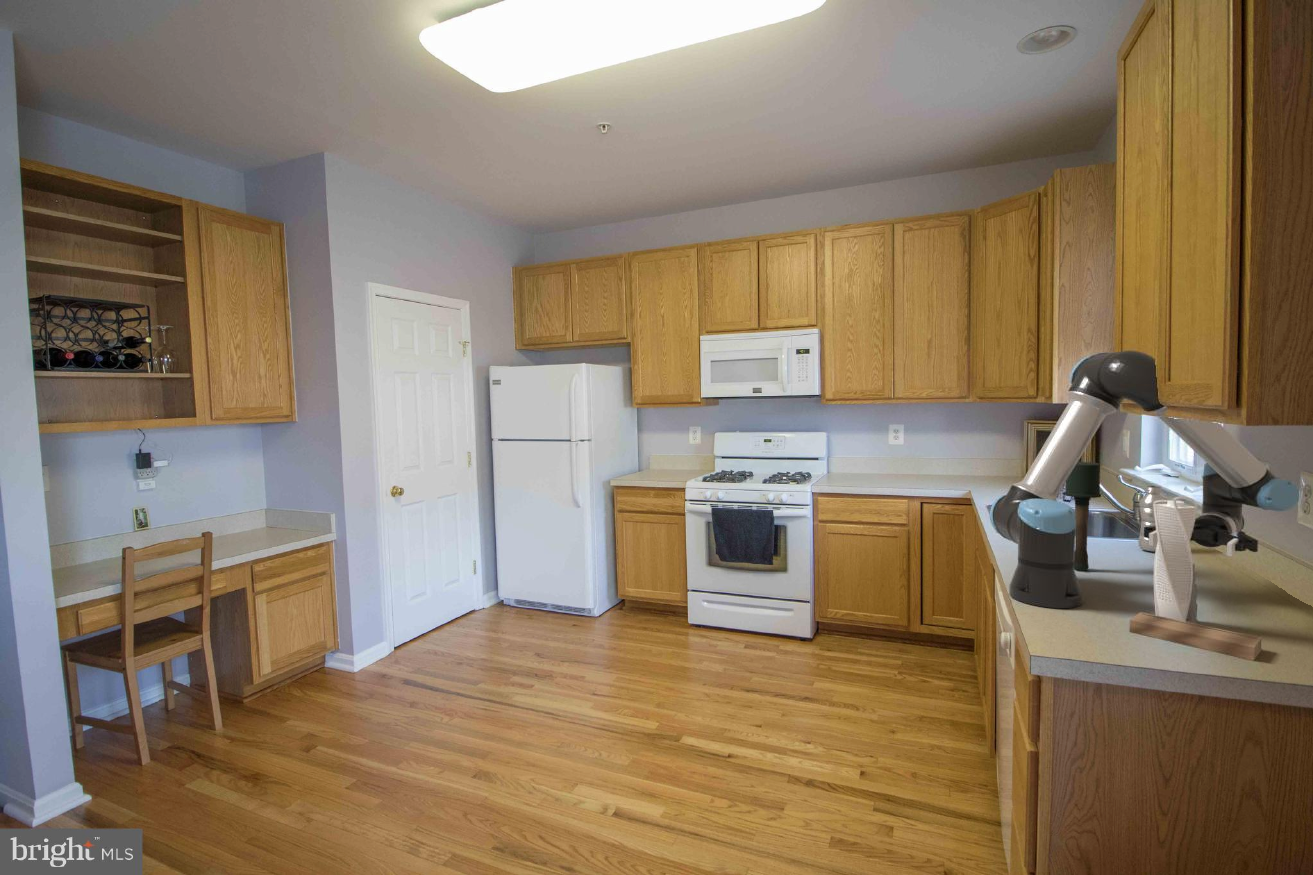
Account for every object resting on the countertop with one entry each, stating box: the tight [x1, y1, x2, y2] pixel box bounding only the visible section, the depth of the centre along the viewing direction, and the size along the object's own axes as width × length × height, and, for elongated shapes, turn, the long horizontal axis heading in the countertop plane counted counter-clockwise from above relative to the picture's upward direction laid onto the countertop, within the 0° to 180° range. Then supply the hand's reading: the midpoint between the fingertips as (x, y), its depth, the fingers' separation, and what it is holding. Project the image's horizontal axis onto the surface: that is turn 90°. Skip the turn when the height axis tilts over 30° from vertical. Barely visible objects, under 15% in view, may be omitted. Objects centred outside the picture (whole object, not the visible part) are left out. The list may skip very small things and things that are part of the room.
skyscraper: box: [1153, 495, 1199, 624], centre depth 134 cm, size 8×8×28 cm
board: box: [1128, 611, 1262, 661], centre depth 126 cm, size 19×7×3 cm, turn 38°
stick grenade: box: [1063, 461, 1102, 572], centre depth 174 cm, size 8×9×30 cm
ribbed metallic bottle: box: [1137, 485, 1167, 553], centre depth 192 cm, size 6×7×20 cm
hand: (1188, 544), depth 140 cm, fingers open, 13 cm apart
